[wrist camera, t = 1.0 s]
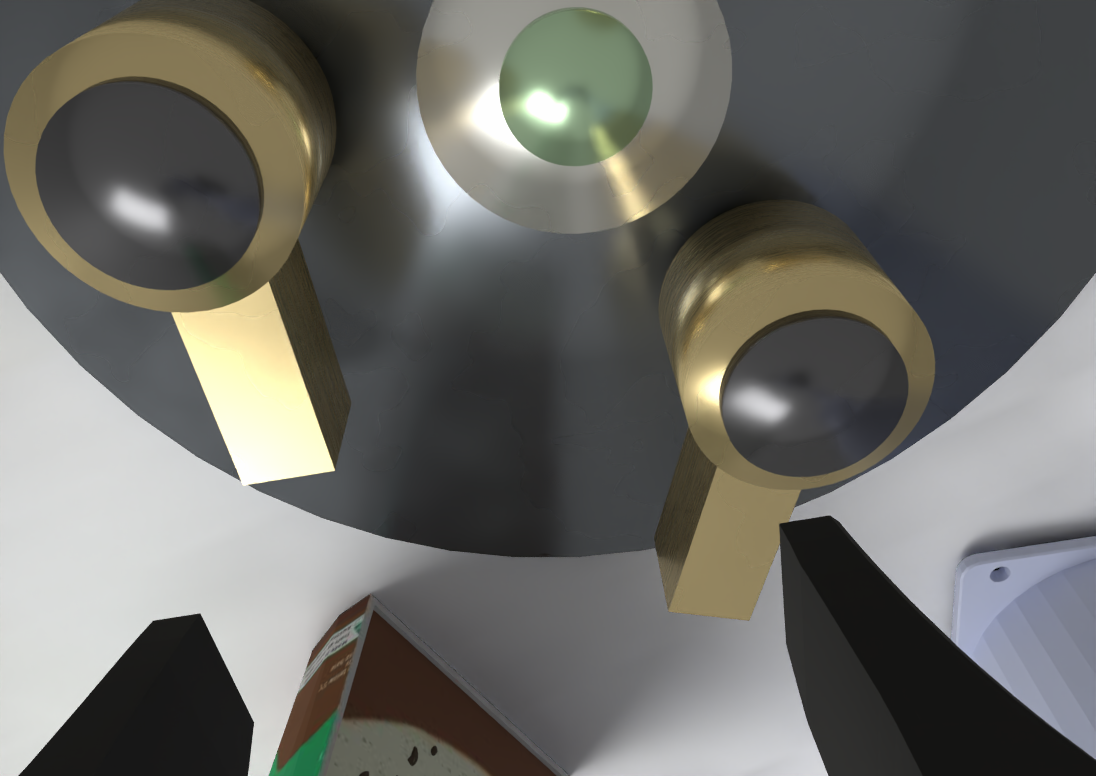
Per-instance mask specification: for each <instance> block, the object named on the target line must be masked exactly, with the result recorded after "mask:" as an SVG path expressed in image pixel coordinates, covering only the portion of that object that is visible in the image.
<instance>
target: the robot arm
mask: <svg viewBox="0 0 1096 776" xmlns="http://www.w3.org/2000/svg"><path fill="white" fill-rule="evenodd" d="M779 532H780V549H781V565H782V582H783V598H784V615H785V631H786V645H787V648H788V652H789V656H790V660H791V663H792V667H793V671H794V675H795V678H796V682H797V686H798V689H799V693H800V697H801V700H802V704H803V707H804V711H805V714H806V718H807V722H808V724H809V727H810V729H811V732H812V735H813V737H814V740H815V742H816V745H817V747H818V750H819V753H820V755H821V758H822V760H823V763H824V765H825V768H826V770H827V773H828V775H829V776H1096V536H1092V537H1085V538H1079V539H1072V540H1065V541H1059V542H1052V543H1045V544H1039V545H1032V546H1025V547H1018V548H1012V549H1005V550H998V551H992V552H985V553H978V554H974V555H970V556H968V557H966V558H965V559H963V560H962V561H961V562H960V563H959V564H958V566H957V569H956V576H955V591H954V605H953V620H952V634H951V639H950V638H948V637H947V636H946V635H945V634H944V633H943V632H942V631H941V630H940V629H939V628H938V627H937V626H936V625H935V624H934V623H933V622H932V621H931V620H930V619H929V618H928V617H927V616H926V615H925V614H923V613H922V612H921V611H920V610H919V609H918V608H917V607H916V606H915V605H914V604H913V603H912V602H911V601H910V600H909V599H908V598H907V597H906V596H905V595H904V594H903V593H902V591H901V590H900V589H899V588H898V587H897V586H896V585H895V584H894V583H893V582H892V581H891V580H890V579H889V578H888V577H887V576H886V575H885V574H884V572H883V571H882V570H881V569H880V568H879V567H878V566H877V565H876V564H875V563H874V562H873V561H872V559H871V558H870V557H869V556H868V555H867V554H866V553H865V552H864V551H863V549H862V548H861V547H860V546H859V545H858V544H857V543H856V541H855V540H854V539H853V538H852V537H851V536H850V534H849V533H848V532H847V531H846V530H845V528H844V527H843V526H842V525H841V524H840V522H838V521H837V520H836V519H834V518H833V517H831V516H824V517H818V518H811V519H805V520H798V521H792V522H785V523H779ZM999 567H1001V568H1000V569H999V570H996V571H993V570H994V569H996V568H999ZM992 571H993V572H992ZM253 727H254V722H253V720H252V718H251V716H250V713H249V711H248V709H247V707H246V705H245V703H244V701H243V699H242V697H241V695H240V693H239V691H238V689H237V687H236V685H235V683H234V681H233V679H232V677H231V675H230V673H229V671H228V669H227V667H226V665H225V663H224V661H223V659H222V657H221V655H220V653H219V651H218V649H217V647H216V644H215V642H214V640H213V638H212V636H211V634H210V632H209V630H208V628H207V626H206V624H205V622H204V620H203V618H202V616H201V614H194V615H187V616H181V617H175V618H168V619H162V620H155V621H153V622H152V623H151V624H150V625H149V626H148V627H147V628H146V629H145V630H144V632H143V633H142V634H141V635H140V636H139V637H138V638H137V639H136V640H135V642H134V643H133V644H132V645H131V646H130V647H129V648H128V650H127V651H126V652H125V653H124V654H123V655H122V657H121V658H120V659H119V660H118V661H117V662H116V664H115V665H114V666H113V667H112V668H111V670H110V671H109V672H108V673H107V674H106V675H105V677H104V678H103V679H102V680H101V681H100V683H99V684H98V685H97V686H96V687H95V688H94V690H93V691H92V692H91V693H90V694H89V696H88V697H87V698H86V699H85V700H84V701H83V703H82V704H81V705H80V706H79V707H78V708H77V710H76V711H75V712H74V713H73V714H72V715H71V717H70V718H69V719H68V720H67V721H66V722H65V723H64V725H63V726H62V727H61V728H60V729H59V730H58V732H57V733H56V734H55V735H54V736H53V737H52V738H51V740H50V741H49V742H48V743H47V744H46V745H45V747H44V748H43V749H42V750H41V751H40V752H39V753H38V755H37V756H36V757H35V758H34V759H33V760H32V761H31V763H30V764H29V765H28V766H27V767H26V768H25V769H24V770H23V771H22V772H21V773H20V775H19V776H248V769H249V762H250V753H251V744H252V735H253Z"/></svg>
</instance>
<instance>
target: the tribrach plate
mask: <svg viewBox="0 0 1096 776" xmlns="http://www.w3.org/2000/svg"><path fill="white" fill-rule="evenodd" d="M138 1H140V0H0V273H1V274H2V275H3V277H4V278H5V279H6V281H7V282H8V283H9V285H10V286H11V287H12V289H13V290H14V291H15V293H16V294H17V295H18V297H19V298H20V299H21V301H22V302H23V303H24V305H25V306H26V307H27V309H28V310H29V311H30V312H31V313H32V314H33V315H34V316H35V317H36V318H37V319H38V320H39V321H40V322H41V324H42V325H43V326H44V327H45V328H46V329H47V330H48V331H49V332H50V333H51V334H52V335H53V336H54V338H55V339H56V340H57V341H58V342H59V343H60V344H61V345H62V346H63V347H64V348H65V349H66V350H67V351H68V353H69V354H70V355H71V356H72V357H73V358H74V359H75V360H76V361H77V362H78V363H79V364H80V365H81V366H82V367H83V368H84V369H85V370H86V371H87V372H89V373H90V374H91V375H92V376H93V377H94V378H95V379H97V380H98V381H99V382H100V383H101V384H102V385H104V386H105V387H106V388H107V389H108V390H109V391H110V392H112V393H113V394H114V395H115V396H116V397H117V398H119V399H120V400H121V401H122V402H123V403H124V404H125V405H127V406H128V407H129V408H130V409H131V410H132V411H134V412H135V413H136V414H137V415H138V416H140V417H141V418H142V419H144V420H145V421H147V422H148V423H150V424H151V425H152V426H154V427H155V428H157V429H158V430H160V431H161V432H162V433H164V434H165V435H167V436H168V437H170V438H171V439H173V440H174V441H175V442H177V443H178V444H180V445H181V446H183V447H184V448H185V449H187V450H188V451H190V452H191V453H193V454H194V455H195V456H197V457H198V458H200V459H202V460H204V461H206V462H207V463H209V464H211V465H213V466H215V467H217V468H218V469H220V470H222V471H224V472H226V473H227V474H229V475H231V476H233V477H235V478H236V479H238V480H240V481H241V479H240V476H239V474H238V471H237V469H236V467H235V464H234V462H233V459H232V457H231V455H230V452H229V450H228V447H227V445H226V443H225V440H224V438H223V435H222V433H221V431H220V428H219V426H218V423H217V421H216V419H215V416H214V414H213V411H212V409H211V407H210V404H209V402H208V399H207V397H206V395H205V392H204V390H203V387H202V385H201V383H200V380H199V378H198V375H197V373H196V371H195V368H194V366H193V363H192V361H191V359H190V356H189V354H188V351H187V349H186V347H185V344H184V342H183V339H182V337H181V335H180V332H179V330H178V327H177V325H176V323H175V320H174V318H173V315H172V313H171V312H164V311H156V310H151V309H146V308H142V307H138V306H134V305H131V304H128V303H125V302H122V301H120V300H117V299H115V298H113V297H110V296H108V295H106V294H104V293H102V292H100V291H98V290H96V289H95V288H93V287H91V286H90V285H88V284H86V283H85V282H83V281H82V280H80V279H79V278H77V277H76V276H75V275H73V274H72V273H71V272H69V271H68V270H67V269H66V268H65V267H63V266H62V265H61V264H60V263H59V262H58V261H57V260H56V259H55V258H54V257H53V256H52V255H51V254H50V253H49V252H48V251H47V250H46V249H45V248H44V246H43V245H42V244H41V243H40V242H39V241H38V239H37V238H36V236H35V235H34V234H33V232H32V231H31V229H30V228H29V227H28V225H27V223H26V221H25V220H24V218H23V216H22V214H21V212H20V211H19V209H18V207H17V204H16V202H15V199H14V197H13V194H12V192H11V189H10V185H9V181H8V178H7V174H6V168H5V160H4V132H5V126H6V120H7V116H8V113H9V110H10V107H11V104H12V101H13V99H14V97H15V95H16V93H17V91H18V89H19V88H20V86H21V84H22V83H23V82H24V80H25V79H26V78H27V76H28V75H29V74H30V73H31V71H32V70H33V69H34V68H35V67H36V66H38V65H39V64H40V63H41V62H42V61H43V60H44V59H45V58H47V57H48V56H50V55H51V54H53V53H54V52H56V51H57V50H59V49H60V48H62V47H64V46H65V45H67V44H69V43H70V42H72V41H74V40H75V39H77V38H79V37H80V36H82V35H84V34H85V33H87V32H89V31H90V30H92V29H94V28H95V27H97V26H98V25H100V24H102V23H103V22H105V21H107V20H108V19H110V18H112V17H113V16H115V15H117V14H118V13H120V12H122V11H123V10H125V9H127V8H128V7H130V6H132V5H133V4H135V3H137V2H138ZM248 1H251V2H253V3H255V4H257V5H259V6H260V7H262V8H264V9H266V10H267V11H269V12H271V13H272V14H273V15H275V16H276V17H277V18H279V19H280V20H281V21H283V22H284V23H285V24H286V25H287V26H288V27H289V28H290V29H292V30H293V31H294V32H295V33H296V34H297V35H298V36H299V37H300V39H301V40H302V41H303V42H304V43H305V45H306V46H307V47H308V48H309V49H310V51H311V52H312V54H313V56H314V57H315V59H316V60H317V62H318V63H319V65H320V67H321V69H322V71H323V73H324V75H325V77H326V79H327V82H328V85H329V88H330V90H331V93H332V97H333V101H334V106H335V111H336V122H337V134H336V145H335V150H334V155H333V159H332V162H331V164H330V167H329V170H328V172H327V175H326V177H325V179H324V181H323V184H322V186H321V188H320V190H319V192H318V195H317V197H316V199H315V201H314V203H313V206H312V208H311V210H310V212H309V215H308V217H307V219H306V221H305V223H304V226H303V228H302V230H301V232H300V235H299V237H298V240H299V243H300V246H301V249H302V252H303V255H304V258H305V261H306V264H307V267H308V270H309V273H310V277H311V280H312V283H313V286H314V289H315V292H316V295H317V298H318V301H319V304H320V307H321V310H322V313H323V316H324V320H325V323H326V326H327V329H328V332H329V335H330V338H331V341H332V344H333V347H334V350H335V353H336V356H337V360H338V363H339V366H340V369H341V372H342V375H343V378H344V381H345V384H346V387H347V390H348V393H349V396H350V400H351V407H350V411H349V415H348V419H347V424H346V428H345V432H344V436H343V440H342V444H341V448H340V452H339V456H338V460H337V464H336V468H335V471H330V472H323V473H317V474H311V475H304V476H298V477H292V478H286V479H279V480H273V481H267V482H261V483H254V484H248V485H249V486H251V487H253V488H254V489H256V490H258V491H260V492H262V493H265V494H267V495H269V496H272V497H274V498H276V499H279V500H281V501H284V502H286V503H288V504H291V505H293V506H295V507H298V508H300V509H302V510H305V511H307V512H309V513H312V514H314V515H316V516H319V517H321V518H324V519H327V520H330V521H334V522H337V523H340V524H343V525H347V526H350V527H353V528H356V529H360V530H363V531H366V532H369V533H372V534H376V535H379V536H382V537H385V538H390V539H395V540H400V541H405V542H410V543H415V544H420V545H425V546H430V547H435V548H440V549H445V550H450V551H460V552H470V553H480V554H490V555H500V556H511V557H581V556H591V555H601V554H611V553H620V552H630V551H640V550H646V549H651V548H656V546H655V541H654V536H655V533H656V530H657V526H658V523H659V520H660V517H661V514H662V510H663V507H664V504H665V501H666V497H667V494H668V491H669V488H670V484H671V481H672V478H673V475H674V472H675V468H676V465H677V462H678V459H679V455H680V452H681V449H682V446H683V443H684V439H685V436H686V433H687V430H688V426H689V425H688V422H687V418H686V415H685V411H684V408H683V404H682V401H681V397H680V394H679V390H678V387H677V383H676V380H675V376H674V373H673V369H672V366H671V362H670V359H669V355H668V352H667V348H666V345H665V341H664V338H663V334H662V330H661V326H660V322H659V311H658V309H659V296H660V291H661V285H662V282H663V280H664V277H665V274H666V271H667V269H668V267H669V265H670V263H671V261H672V260H673V258H674V257H675V255H676V254H677V252H678V251H679V249H680V248H681V247H682V246H683V245H684V243H685V242H686V241H687V240H688V239H689V238H690V237H691V236H692V235H693V234H694V233H695V232H696V231H697V230H699V229H700V228H701V227H702V226H704V225H705V224H707V223H708V222H709V221H711V220H712V219H714V218H716V217H718V216H719V215H721V214H723V213H725V212H727V211H729V210H732V209H734V208H737V207H739V206H743V205H746V204H750V203H754V202H760V201H766V200H791V201H799V202H803V203H808V204H812V205H814V206H817V207H819V208H822V209H824V210H826V211H828V212H830V213H832V214H833V215H835V216H837V217H838V218H839V219H840V220H842V221H843V222H844V223H845V224H847V226H848V227H849V228H850V229H851V230H852V231H853V232H854V233H855V234H856V236H857V237H858V238H859V239H860V241H861V242H862V243H863V245H864V246H865V247H866V248H867V250H868V251H869V252H870V254H871V255H872V256H873V258H874V259H875V260H876V261H877V263H878V264H879V265H880V267H881V268H882V269H883V270H884V272H885V273H886V274H887V276H888V277H889V278H890V280H891V281H892V282H893V283H894V285H895V286H896V287H897V289H898V290H899V291H900V292H901V294H902V295H903V296H904V298H905V299H906V300H907V302H908V303H909V304H910V305H911V307H912V308H913V309H914V311H915V312H916V313H917V314H918V316H919V317H920V319H921V320H922V322H923V324H924V325H925V327H926V329H927V331H928V334H929V336H930V338H931V342H932V345H933V349H934V356H935V377H934V383H933V388H932V392H931V395H930V398H929V401H928V403H927V406H926V408H925V410H924V412H923V414H922V416H921V417H920V419H919V421H918V422H917V424H916V425H915V427H914V428H913V430H912V431H911V432H910V434H909V435H908V436H907V437H906V438H905V439H904V440H903V441H902V443H901V444H900V445H899V446H897V447H896V448H895V449H894V450H893V451H892V452H891V453H890V454H889V455H887V456H886V457H885V458H883V459H882V460H880V461H879V462H878V463H876V464H875V465H873V466H871V467H870V468H868V469H866V470H865V471H863V472H861V473H859V474H857V475H854V476H852V477H850V478H848V479H845V480H842V481H839V482H836V483H834V484H830V485H826V486H821V487H817V488H810V489H802V490H801V491H800V494H799V497H798V499H797V502H796V504H795V507H796V506H799V505H801V504H803V503H806V502H808V501H811V500H813V499H815V498H818V497H820V496H822V495H825V494H827V493H830V492H832V491H834V490H835V489H837V488H839V487H841V486H843V485H845V484H846V483H848V482H850V481H852V480H854V479H856V478H858V477H859V476H861V475H863V474H865V473H867V472H869V471H870V470H872V469H874V468H876V467H878V466H880V465H881V464H883V463H885V462H887V461H889V460H891V459H892V458H894V457H895V456H897V455H898V454H900V453H901V452H903V451H904V450H906V449H907V448H909V447H910V446H911V445H913V444H914V443H916V442H917V441H919V440H920V439H922V438H923V437H925V436H926V435H928V434H929V433H931V432H932V431H934V430H935V429H936V428H938V427H939V426H941V425H942V424H944V423H945V422H947V421H948V420H950V419H951V418H952V417H953V416H955V415H956V414H957V413H958V412H959V411H961V410H962V409H963V408H964V407H965V406H967V405H968V404H969V403H970V402H971V401H973V400H974V399H975V398H976V397H977V396H979V395H980V394H981V393H982V392H983V391H985V390H986V389H987V388H988V387H989V386H991V385H992V384H993V383H994V382H995V381H996V380H998V379H999V378H1000V377H1001V376H1002V375H1004V374H1005V373H1006V372H1007V371H1008V370H1009V369H1010V368H1011V367H1012V366H1013V365H1014V364H1015V363H1016V362H1017V361H1018V360H1019V359H1020V358H1021V357H1022V356H1023V355H1024V354H1025V353H1026V352H1027V351H1028V350H1029V349H1030V348H1031V347H1032V346H1033V345H1034V343H1035V342H1036V341H1037V340H1038V339H1039V338H1040V337H1041V336H1042V335H1043V334H1044V333H1045V332H1046V331H1047V330H1048V329H1049V328H1050V327H1051V326H1052V325H1053V324H1054V323H1055V322H1056V321H1057V320H1058V319H1059V318H1060V317H1061V315H1062V314H1063V313H1064V312H1065V310H1066V309H1067V308H1068V307H1069V305H1070V304H1071V303H1072V302H1073V300H1074V299H1075V298H1076V297H1077V295H1078V294H1079V293H1080V292H1081V290H1082V289H1083V288H1084V287H1085V285H1086V284H1087V283H1088V282H1089V280H1090V279H1091V278H1092V277H1093V275H1094V274H1095V273H1096V0H248Z"/></svg>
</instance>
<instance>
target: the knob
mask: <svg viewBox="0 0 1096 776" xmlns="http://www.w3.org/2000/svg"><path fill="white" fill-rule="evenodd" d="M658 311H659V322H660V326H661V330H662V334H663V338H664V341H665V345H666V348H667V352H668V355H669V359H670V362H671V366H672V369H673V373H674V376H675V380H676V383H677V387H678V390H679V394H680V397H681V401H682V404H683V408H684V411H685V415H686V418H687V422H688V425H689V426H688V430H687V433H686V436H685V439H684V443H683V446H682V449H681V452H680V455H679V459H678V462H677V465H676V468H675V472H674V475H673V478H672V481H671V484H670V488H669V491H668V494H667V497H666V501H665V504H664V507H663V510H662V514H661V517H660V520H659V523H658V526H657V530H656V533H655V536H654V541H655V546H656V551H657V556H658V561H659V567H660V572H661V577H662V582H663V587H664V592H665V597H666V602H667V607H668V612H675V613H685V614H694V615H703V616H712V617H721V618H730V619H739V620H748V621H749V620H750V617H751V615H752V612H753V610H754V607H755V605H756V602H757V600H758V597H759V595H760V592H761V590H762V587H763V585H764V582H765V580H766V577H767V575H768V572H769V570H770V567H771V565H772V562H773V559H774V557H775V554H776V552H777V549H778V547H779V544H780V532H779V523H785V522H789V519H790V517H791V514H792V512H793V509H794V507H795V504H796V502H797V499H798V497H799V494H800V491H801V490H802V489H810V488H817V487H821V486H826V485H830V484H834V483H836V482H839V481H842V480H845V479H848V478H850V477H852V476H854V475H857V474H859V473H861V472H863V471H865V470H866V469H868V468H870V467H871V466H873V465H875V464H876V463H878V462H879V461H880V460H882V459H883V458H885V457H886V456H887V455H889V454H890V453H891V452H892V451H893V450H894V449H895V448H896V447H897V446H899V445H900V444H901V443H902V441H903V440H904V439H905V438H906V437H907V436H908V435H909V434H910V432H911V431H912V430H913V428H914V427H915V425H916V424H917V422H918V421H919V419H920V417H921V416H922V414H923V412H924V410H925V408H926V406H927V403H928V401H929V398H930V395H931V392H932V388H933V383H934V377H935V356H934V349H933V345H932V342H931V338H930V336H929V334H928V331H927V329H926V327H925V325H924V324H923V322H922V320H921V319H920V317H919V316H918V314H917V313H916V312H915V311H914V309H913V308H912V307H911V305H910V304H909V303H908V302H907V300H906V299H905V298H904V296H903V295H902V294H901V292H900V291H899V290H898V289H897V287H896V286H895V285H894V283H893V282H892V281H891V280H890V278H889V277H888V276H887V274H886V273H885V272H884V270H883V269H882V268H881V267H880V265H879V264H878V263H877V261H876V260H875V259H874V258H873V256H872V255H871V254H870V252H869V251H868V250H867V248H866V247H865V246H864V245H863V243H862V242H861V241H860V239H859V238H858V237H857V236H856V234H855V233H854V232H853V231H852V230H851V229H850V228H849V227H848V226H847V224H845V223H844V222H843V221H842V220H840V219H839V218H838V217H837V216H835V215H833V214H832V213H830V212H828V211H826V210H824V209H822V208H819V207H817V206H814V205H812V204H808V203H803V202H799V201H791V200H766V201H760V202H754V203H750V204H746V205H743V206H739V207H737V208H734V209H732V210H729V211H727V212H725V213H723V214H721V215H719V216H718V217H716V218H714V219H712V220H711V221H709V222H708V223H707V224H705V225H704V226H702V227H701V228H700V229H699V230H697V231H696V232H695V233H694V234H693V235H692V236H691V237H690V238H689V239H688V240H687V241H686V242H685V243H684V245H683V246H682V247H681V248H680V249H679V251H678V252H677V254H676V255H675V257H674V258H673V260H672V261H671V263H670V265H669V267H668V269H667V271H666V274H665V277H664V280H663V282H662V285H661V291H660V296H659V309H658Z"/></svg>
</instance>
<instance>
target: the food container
mask: <svg viewBox="0 0 1096 776" xmlns="http://www.w3.org/2000/svg"><path fill="white" fill-rule="evenodd" d="M269 776H569V775H568V774H567V773H566V772H565V771H564V770H563V769H561V768H560V767H559V766H558V765H557V764H556V763H555V762H554V761H553V760H552V759H550V758H549V757H548V756H547V755H546V754H545V753H544V752H543V751H542V750H541V749H540V748H538V747H537V746H536V745H535V744H534V743H533V742H532V741H531V740H530V739H529V738H528V737H526V736H525V735H524V734H523V733H522V732H521V731H520V730H519V729H518V728H517V727H516V726H514V725H513V724H512V723H511V722H510V721H509V720H508V719H507V718H506V717H505V716H504V715H502V714H501V713H500V712H499V711H498V710H497V709H496V708H495V707H494V706H493V705H492V704H490V703H489V702H488V701H487V700H486V699H485V698H484V697H483V696H482V695H481V694H480V693H478V692H477V691H476V690H475V689H474V688H473V687H472V686H471V685H470V684H469V683H468V682H466V681H465V680H464V679H463V678H462V677H461V676H460V675H459V674H458V673H457V672H455V671H454V670H453V669H452V668H451V667H450V666H449V665H448V664H447V663H446V662H445V661H443V660H442V659H441V658H440V657H439V656H438V655H437V654H436V653H435V652H434V651H433V650H431V649H430V648H429V647H428V646H427V645H426V644H425V643H424V642H423V641H422V640H421V639H419V638H418V637H417V636H416V635H415V634H414V633H413V632H412V631H411V630H410V629H409V628H407V627H406V626H405V625H404V624H403V623H402V622H401V621H400V620H399V619H398V618H397V617H395V616H394V615H393V614H392V613H391V612H390V611H389V610H388V609H387V608H386V607H385V606H383V605H382V604H381V603H380V602H379V601H378V600H377V599H376V598H375V597H374V596H372V595H371V594H370V595H368V596H367V597H365V598H364V599H362V600H361V601H359V602H358V603H357V604H355V605H354V606H352V607H351V608H349V609H348V610H346V611H345V612H344V613H342V614H341V615H339V617H338V618H337V619H336V621H335V622H334V623H333V624H332V626H331V627H330V628H329V630H328V631H327V632H326V634H325V635H324V636H323V637H322V639H321V640H320V641H319V643H318V644H317V645H316V646H315V648H314V649H313V651H312V653H311V656H310V659H309V662H308V665H307V668H306V671H305V673H304V676H303V679H302V682H301V685H300V688H299V691H298V694H297V696H296V699H295V702H294V705H293V708H292V711H291V714H290V716H289V719H288V722H287V725H286V728H285V731H284V734H283V737H282V739H281V742H280V745H279V748H278V751H277V754H276V757H275V759H274V762H273V765H272V768H271V771H270V774H269Z"/></svg>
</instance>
